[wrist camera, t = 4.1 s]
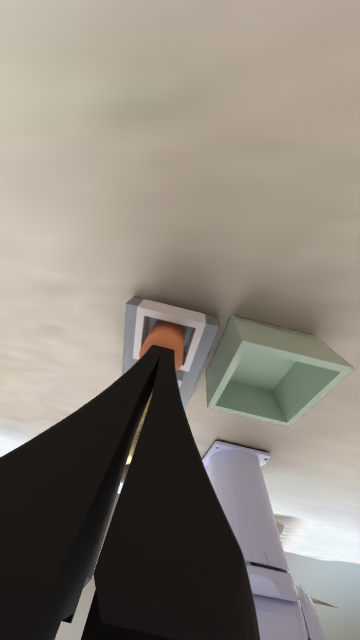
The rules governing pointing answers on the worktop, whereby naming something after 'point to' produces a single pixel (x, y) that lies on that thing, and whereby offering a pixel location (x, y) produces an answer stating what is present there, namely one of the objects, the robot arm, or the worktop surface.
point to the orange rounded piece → (166, 340)
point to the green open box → (270, 372)
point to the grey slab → (194, 325)
